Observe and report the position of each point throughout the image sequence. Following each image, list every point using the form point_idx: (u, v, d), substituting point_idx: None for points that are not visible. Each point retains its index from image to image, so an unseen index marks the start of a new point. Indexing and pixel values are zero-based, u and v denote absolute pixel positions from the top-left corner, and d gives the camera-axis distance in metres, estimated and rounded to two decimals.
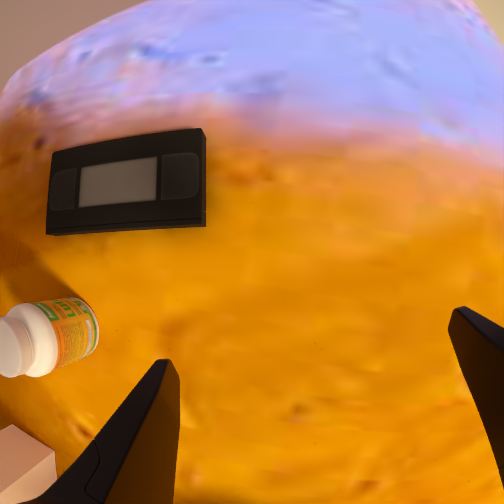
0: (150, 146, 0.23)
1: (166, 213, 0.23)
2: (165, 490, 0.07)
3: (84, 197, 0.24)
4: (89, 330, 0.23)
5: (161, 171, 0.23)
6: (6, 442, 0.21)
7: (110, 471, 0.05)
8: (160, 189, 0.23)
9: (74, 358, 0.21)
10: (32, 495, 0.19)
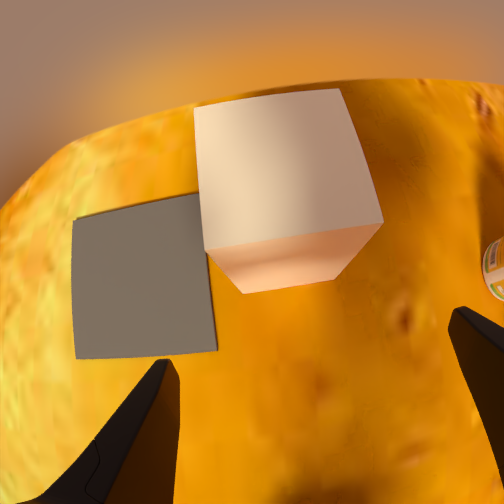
0: None
1: None
2: (165, 490, 0.07)
3: None
4: None
5: None
6: None
7: (110, 471, 0.05)
8: None
9: None
10: (281, 273, 0.18)
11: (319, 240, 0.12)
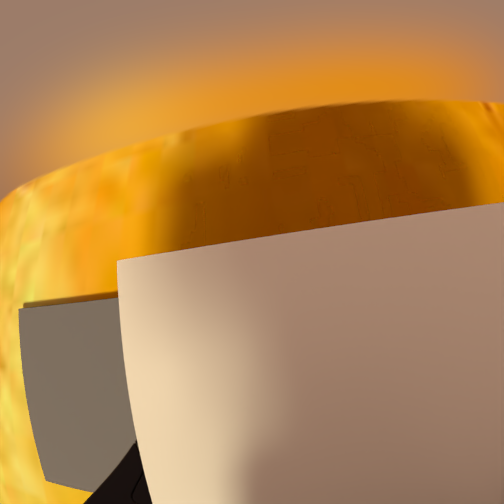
0: None
1: None
2: None
3: None
4: None
5: None
6: None
7: None
8: None
9: None
10: None
11: None
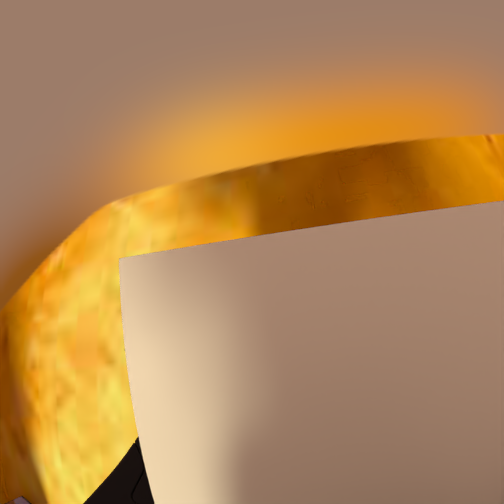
0: None
1: None
2: None
3: None
4: None
5: None
6: None
7: None
8: None
9: None
10: None
11: None
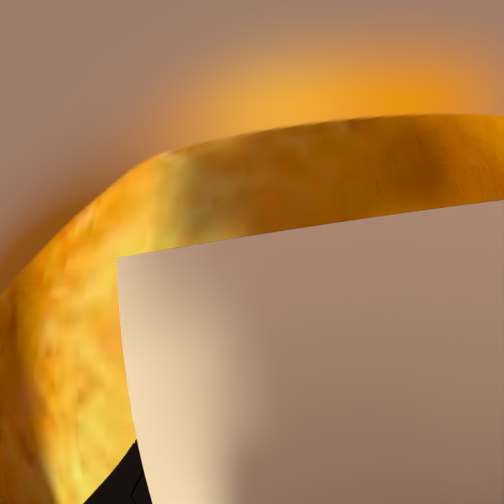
0: None
1: None
2: None
3: None
4: None
5: None
6: None
7: None
8: None
9: None
10: None
11: None
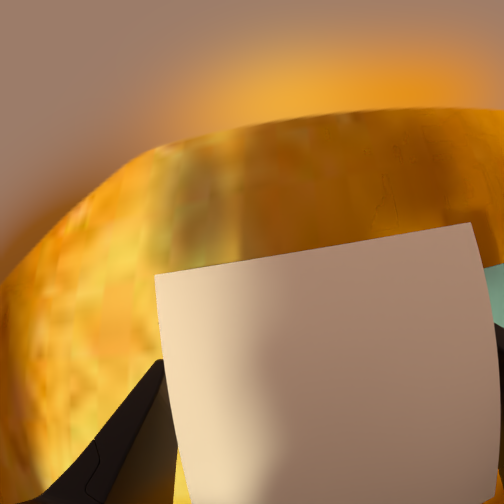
0: None
1: None
2: (165, 490, 0.07)
3: None
4: None
5: None
6: None
7: (110, 472, 0.05)
8: None
9: None
10: None
11: None
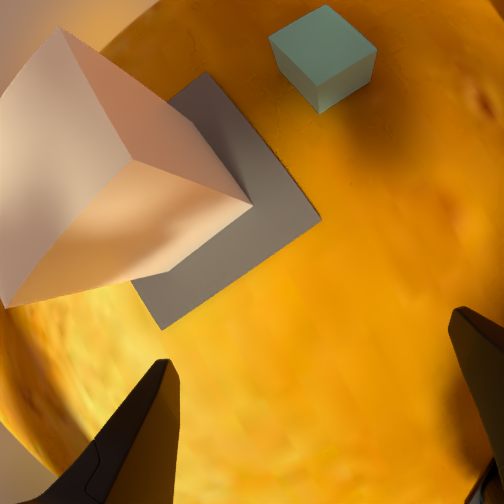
0: None
1: None
2: (165, 490, 0.07)
3: None
4: None
5: None
6: (185, 127, 0.15)
7: (110, 472, 0.05)
8: None
9: None
10: (156, 249, 0.14)
11: (94, 227, 0.08)
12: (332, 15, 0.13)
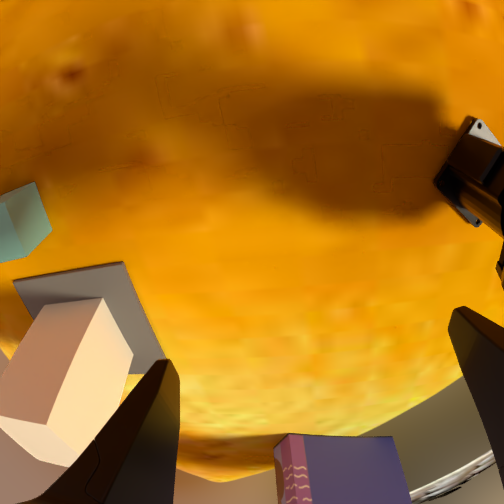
0: None
1: None
2: (165, 490, 0.07)
3: None
4: None
5: None
6: (43, 329, 0.21)
7: (110, 472, 0.05)
8: None
9: None
10: (104, 380, 0.21)
11: (73, 432, 0.15)
12: None
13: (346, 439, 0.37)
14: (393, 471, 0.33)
